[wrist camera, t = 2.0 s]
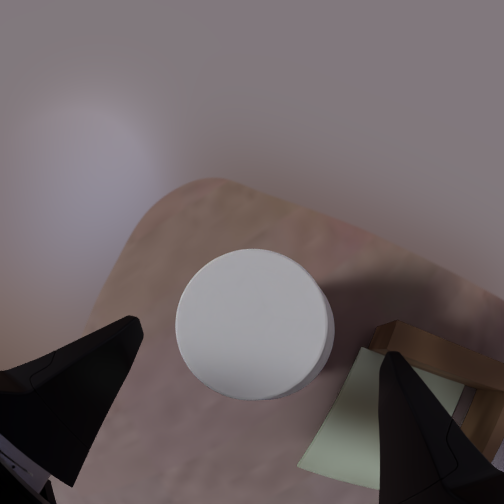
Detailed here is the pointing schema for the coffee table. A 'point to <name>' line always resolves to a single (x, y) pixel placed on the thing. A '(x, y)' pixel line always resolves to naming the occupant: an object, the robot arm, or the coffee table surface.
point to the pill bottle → (254, 325)
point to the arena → (367, 394)
